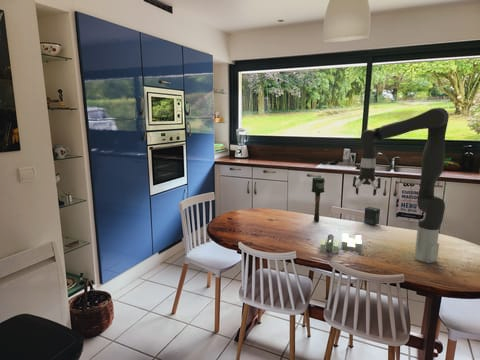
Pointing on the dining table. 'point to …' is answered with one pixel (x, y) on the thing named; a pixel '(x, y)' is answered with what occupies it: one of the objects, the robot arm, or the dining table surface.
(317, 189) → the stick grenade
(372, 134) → the robot arm
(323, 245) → the cradle
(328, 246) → the axle
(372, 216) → the box
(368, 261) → the dining table surface
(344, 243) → the bore block
